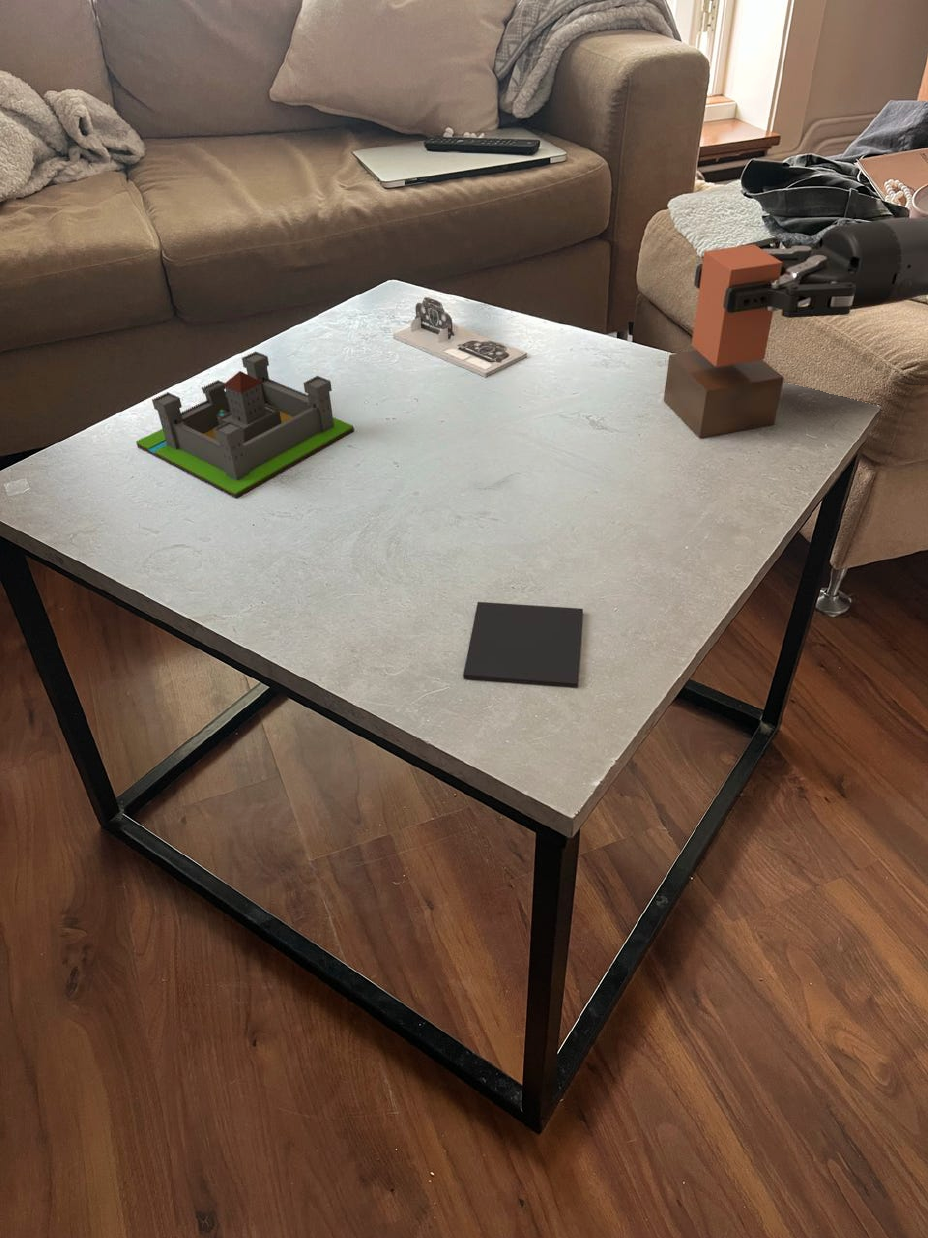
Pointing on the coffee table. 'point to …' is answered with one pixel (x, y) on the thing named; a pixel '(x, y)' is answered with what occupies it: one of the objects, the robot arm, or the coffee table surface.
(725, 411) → the base block
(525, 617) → the felt mat
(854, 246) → the robot arm
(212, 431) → the castle model
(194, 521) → the coffee table surface
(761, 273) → the top block
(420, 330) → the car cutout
